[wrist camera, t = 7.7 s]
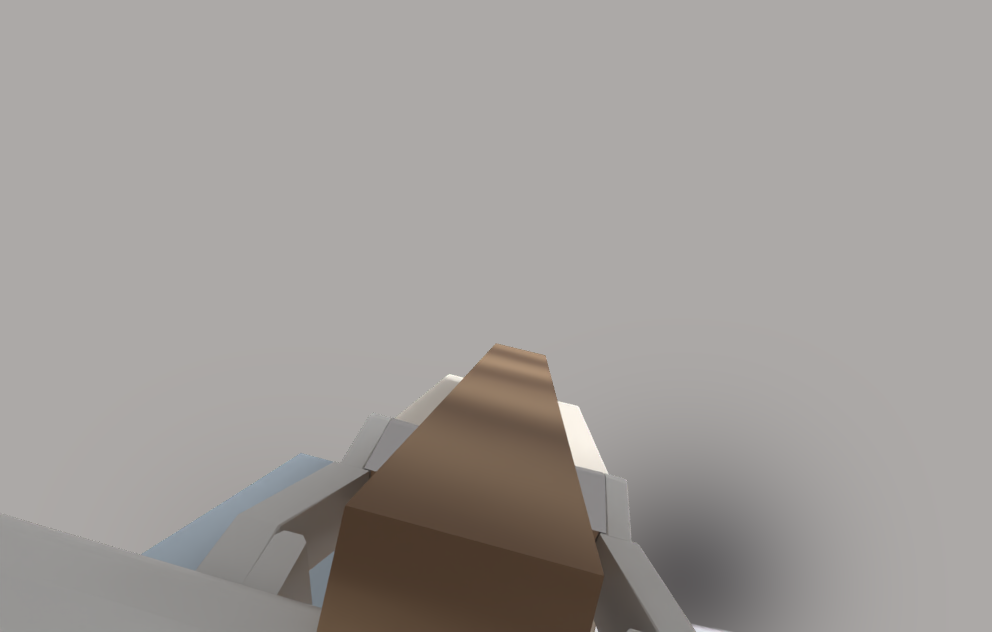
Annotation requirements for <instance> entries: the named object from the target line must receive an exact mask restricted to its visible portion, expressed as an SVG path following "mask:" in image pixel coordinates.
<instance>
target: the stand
mask: <svg viewBox="0 0 992 632" xmlns="http://www.w3.org/2000/svg"><path fill="white" fill-rule="evenodd" d="M462 379H463V377H459V376H455V375H451V374H449V375H447V376H446V377H445V378H444V379H442V380H441V381H440V382H439V383H437V384H436V385H435V386H434V387H433V388H431V389H430V390H429V391H428V392H426V393H425V394H424V395H423V396H421V397H420V398H419V399H418V400H416V401H415V402H414V403H413V404H412V405H410V406H409V407H408V408H407V409H405V410H404V411H403V412H402V413H400V414H399V415H398V416H397V417H395V419H398V420H402V421H405V422H409V423H412V424H416V425H420V424H421V423H422V422H423V421H424V420H425V419H426V418H427V417H428V416H429V415H430V414H431V413H432V411H433V410H434V409H435V408H436V407H437V406H438V405H439V404H440V403H441V402H442V401H443V400H444V399H445V398H446V396H447V395H448V394H449V393H450V392H451V391H452V390H453V389H454V388H455V387H456V386H457V385H458V384H459V382H460V381H461V380H462ZM558 405H559V408H560V412H561V416H562V420H563V423H564V427H565V431H566V435H567V438H568V442H569V446H570V450H571V453H572V457H573V461H574V464H575V466H578V467H582V468H586V469H591V470H595V471H599V472H603V473H606V474H608V472H607V470H606V468H605V465H604V463H603V461H602V459H601V456H600V454H599V452H598V449H597V447H596V445H595V443H594V440H593V438H592V436H591V434H590V431H589V429H588V427H587V425H586V422H585V420H584V418H583V416H582V413H581V411H580V409H579V407H578V406H576V405H571V404H568V403H563V402H559V401H558ZM331 463H333V462H332V461H329V460H325V459H321V458H317V457H314V456H310V455H306V454H303V453H300V454H299V455H297V456H296V457H294V458H292V459H291V460H289V461H288V462H286V463H284V464H283V465H281V466H280V467H278V468H277V469H275V470H273V471H272V472H270V473H269V474H267V475H266V476H264V477H262V478H261V479H259V480H258V481H256V482H255V483H253V484H251V485H250V486H248V487H247V488H245V489H243V490H242V491H240V492H239V493H237V494H236V495H234V496H232V497H231V498H229V499H228V500H226V501H225V502H223V503H222V504H220V505H218V506H217V507H215V508H213V509H212V510H210V511H209V512H207V513H206V514H204V515H203V516H201V517H199V518H198V519H196V520H195V521H193V522H191V523H190V524H188V525H187V526H185V527H184V528H182V529H180V530H179V531H177V532H176V533H174V534H172V535H171V536H169V537H168V538H166V539H165V540H163V541H161V542H160V543H158V544H157V545H155V546H153V547H152V548H150V549H149V550H147V551H146V552H144V553H142V554H141V555H144V556H147V557H150V558H154V559H157V560H161V561H164V562H167V563H171V564H174V565H177V566H181V567H184V568H188V569H191V570H194V571H195V570H196V569H197V568H198V566H199V565H200V564H201V562H202V561H203V560H204V558H205V557H206V556H207V555H208V553H209V552H210V551H211V549H212V548H213V547H214V545H215V544H216V543H217V541H218V540H219V539H220V537H221V536H222V535H223V533H224V532H225V531H226V530H227V528H228V527H229V526H230V524H231V523H232V522H233V520H234V519H235V518H236V516H237V515H238V514H240V513H242V512H244V511H245V510H247V509H249V508H251V507H253V506H254V505H256V504H258V503H260V502H262V501H264V500H265V499H267V498H269V497H271V496H273V495H274V494H276V493H278V492H280V491H282V490H284V489H285V488H287V487H289V486H291V485H293V484H294V483H296V482H298V481H300V480H302V479H304V478H305V477H307V476H309V475H311V474H313V473H314V472H316V471H318V470H320V469H322V468H324V467H325V466H327V465H329V464H331ZM334 552H335V551H333V552H332V553H331V554H330V555H328V556H327V557H326V558H325V559H323V560H322V561H321V562H320V563H318V564H317V565H316V566H315V567H313V568H312V569H311V570H310V571H309V575H310V585H311V595H312V605H313V606H317V607H320V608H322V605H323V601H324V596H325V592H326V587H327V583H328V578H329V574H330V570H331V565H332V561H333V556H334ZM595 627H596V625H595V622H594V620H593V623H592V627H591V631H590V632H594V631H595Z"/></svg>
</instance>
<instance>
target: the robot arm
mask: <svg viewBox="0 0 992 632" xmlns="http://www.w3.org/2000/svg"><path fill="white" fill-rule="evenodd" d="M418 426H419V425H416V424H412V423H409V422H405V421H402V420H398V419H395V418H390V417H387V416H383V415H379V414H376V413H372V414H371V415H370V416H369V417H368V419H367V420H366V422H365V423H364V425H363V427H362V428H361V430H360V432H359V433H358V435H357V436H356V438H355V440H354V441H353V443H352V445H351V446H350V448H349V450H348V451H347V453H346V455H345V456H344V458H343V460H342V462H341V463H339V462H333V463H331V464H329V465H327V466H325V467H324V468H322V469H320V470H318V471H316V472H314V473H313V474H311V475H309V476H307V477H305V478H304V479H302V480H300V481H298V482H296V483H294V484H293V485H291V486H289V487H287V488H285V489H284V490H282V491H280V492H278V493H276V494H274V495H273V496H271V497H269V498H267V499H265V500H264V501H262V502H260V503H258V504H256V505H254V506H253V507H251V508H249V509H247V510H245V511H244V512H242V513H240V514H238V515H237V516H236V518H235V519H234V520H233V522H232V523H231V524H230V526H229V527H228V528H227V530H226V531H225V532H224V533H223V535H222V536H221V537H220V539H219V540H218V541H217V543H216V544H215V545H214V547H213V548H212V549H211V551H210V552H209V553H208V555H207V556H206V557H205V558H204V560H203V561H202V562H201V564H200V565H199V566H198V568H197V569H196V570H195V571H194V570H191V569H188V568H184V567H181V566H177V565H174V564H171V563H167V562H164V561H161V560H157V559H154V558H150V557H147V556H144V555H140V554H137V553H133V552H130V551H127V550H123V549H120V548H116V547H113V546H109V545H106V544H103V543H99V542H96V541H93V540H89V539H86V538H82V537H79V536H76V535H72V534H69V533H66V532H62V531H59V530H55V529H52V528H49V527H45V526H42V525H38V524H35V523H32V522H28V521H25V520H22V519H18V518H15V517H11V516H8V515H5V514H1V513H0V632H317V627H318V623H319V618H320V614H321V610H322V608H320V607H317V606H313V605H312V595H311V585H310V575H309V571H310V570H311V569H312V568H313V567H315V566H316V565H317V564H318V563H320V562H321V561H322V560H323V559H325V558H326V557H327V556H328V555H330V554H331V553H332V552H333V551H335V547H336V543H337V538H338V534H339V530H340V525H341V521H342V516H343V512H344V507H345V505H346V504H347V503H348V501H349V500H350V499H351V498H352V497H353V496H354V495H355V494H356V493H357V492H358V491H359V490H360V489H361V488H362V486H363V485H364V484H365V483H366V482H367V481H368V480H369V479H370V478H371V477H372V476H373V475H374V474H375V473H376V471H377V470H378V469H379V468H380V467H381V466H382V465H383V464H384V463H385V462H386V461H387V460H388V459H389V458H390V456H391V455H392V454H393V453H394V452H395V451H396V450H397V449H398V448H399V447H400V446H401V445H402V444H403V443H404V441H405V440H406V439H407V438H408V437H409V436H410V435H411V434H412V433H413V432H414V431H415V430H416V429H417V428H418ZM575 468H576V472H577V476H578V479H579V483H580V487H581V491H582V494H583V498H584V502H585V506H586V509H587V513H588V517H589V521H590V524H591V528H592V532H593V535H594V539H595V543H596V547H597V550H598V554H599V558H600V562H601V565H602V569H603V573H604V579H603V583H602V587H601V591H600V595H599V599H598V603H597V607H596V611H595V615H594V619H593V620H594V622H595V625H596V627H597V629H598V632H696V631H695V630H694V628H693V626H692V625H691V623H690V622H689V620H688V619H687V617H686V616H685V614H684V613H683V611H682V610H681V608H680V607H679V605H678V604H677V602H676V601H675V599H674V597H673V596H672V595H671V593H670V591H669V590H668V588H667V587H666V585H665V584H664V582H663V581H662V579H661V578H660V576H659V575H658V573H657V572H656V570H655V569H654V567H653V566H652V564H651V563H650V561H649V559H648V558H647V556H646V555H645V553H644V552H643V550H642V549H641V547H640V546H639V544H638V543H635V542H632V541H631V526H630V513H629V499H628V485H627V481H626V479H625V478H621V477H617V476H614V475H610V474H606V473H603V472H599V471H595V470H591V469H586V468H582V467H578V466H575Z"/></svg>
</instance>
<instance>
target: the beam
mask: <svg viewBox="0 0 992 632" xmlns="http://www.w3.org/2000/svg"><path fill="white" fill-rule="evenodd" d="M603 579H604V573H603V569H602V565H601V562H600V558H599V554H598V550H597V547H596V543H595V539H594V535H593V532H592V528H591V524H590V521H589V517H588V513H587V509H586V506H585V502H584V498H583V494H582V491H581V487H580V483H579V479H578V476H577V472H576V468H575V464H574V461H573V457H572V453H571V450H570V446H569V442H568V438H567V435H566V431H565V427H564V423H563V420H562V416H561V412H560V408H559V405H558V401H557V397H556V393H555V390H554V386H553V382H552V379H551V375H550V371H549V367H548V364H547V360H546V356H545V355H542V354H538V353H533V352H529V351H525V350H521V349H517V348H513V347H508V346H505V345H501V344H495V345H494V346H493V347H492V348H491V349H490V350H489V352H487V354H486V355H485V356H484V357H483V358H482V359H481V360H480V361H479V362H478V363H477V364H476V365H475V367H473V369H472V370H471V371H470V372H469V373H468V374H467V375H466V376H465V377H464V378H463V379H462V380H461V381H460V382H459V384H458V385H457V386H456V387H455V388H454V389H453V390H452V391H451V392H450V393H449V394H448V395H447V396H446V398H445V399H444V400H443V401H442V402H441V403H440V404H439V405H438V406H437V407H436V408H435V409H434V410H433V411H432V413H431V414H430V415H429V416H428V417H427V418H426V419H425V420H424V421H423V422H422V423H421V424H420V425H419V426H418V428H417V429H416V430H415V431H414V432H413V433H412V434H411V435H410V436H409V437H408V438H407V439H406V440H405V441H404V443H403V444H402V445H401V446H400V447H399V448H398V449H397V450H396V451H395V452H394V453H393V454H392V455H391V456H390V458H389V459H388V460H387V461H386V462H385V463H384V464H383V465H382V466H381V467H380V468H379V469H378V470H377V471H376V473H375V474H374V475H373V476H372V477H371V478H370V479H369V480H368V481H367V482H366V483H365V484H364V485H363V486H362V488H361V489H360V490H359V491H358V492H357V493H356V494H355V495H354V496H353V497H352V498H351V499H350V500H349V501H348V503H347V504H346V505H345V507H344V512H343V516H342V521H341V525H340V530H339V534H338V538H337V543H336V547H335V552H334V556H333V561H332V565H331V570H330V574H329V578H328V583H327V587H326V592H325V596H324V601H323V605H322V610H321V614H320V618H319V623H318V627H317V632H590V631H591V627H592V623H593V619H594V615H595V611H596V607H597V603H598V599H599V595H600V591H601V587H602V583H603Z"/></svg>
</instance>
